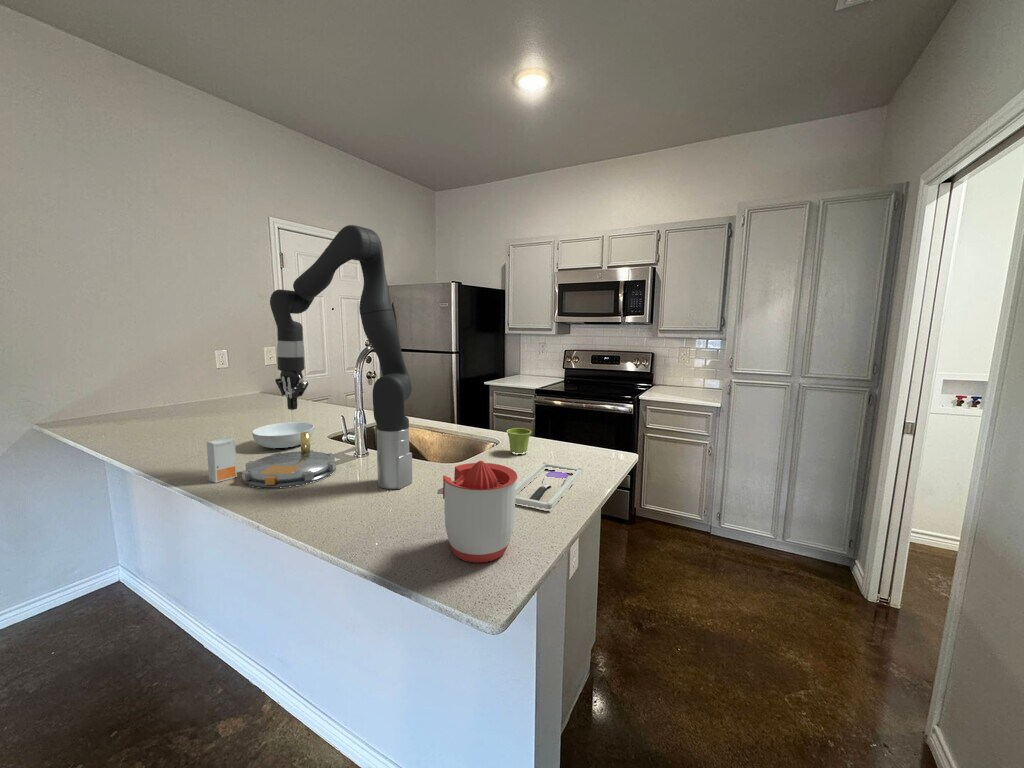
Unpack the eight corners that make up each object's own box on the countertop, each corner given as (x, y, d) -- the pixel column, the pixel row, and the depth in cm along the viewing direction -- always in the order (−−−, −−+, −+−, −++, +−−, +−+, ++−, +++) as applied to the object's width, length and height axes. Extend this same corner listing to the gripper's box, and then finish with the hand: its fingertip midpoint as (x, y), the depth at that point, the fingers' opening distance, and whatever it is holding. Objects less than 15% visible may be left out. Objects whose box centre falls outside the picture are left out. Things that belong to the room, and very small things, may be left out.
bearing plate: (353, 467, 140) (353, 464, 139) (282, 495, 116) (282, 491, 116) (298, 455, 150) (298, 452, 150) (223, 478, 127) (223, 475, 126)
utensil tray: (581, 474, 138) (582, 469, 138) (550, 512, 110) (550, 505, 109) (543, 468, 144) (543, 462, 143) (504, 502, 115) (504, 495, 115)
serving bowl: (268, 438, 171) (267, 421, 170) (322, 438, 173) (321, 421, 172) (241, 454, 150) (240, 435, 149) (303, 453, 153) (302, 435, 152)
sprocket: (348, 456, 147) (347, 431, 146) (317, 485, 120) (316, 454, 119) (270, 455, 145) (268, 430, 144) (221, 484, 119) (219, 453, 118)
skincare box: (215, 483, 123) (212, 444, 121) (208, 480, 125) (205, 441, 124) (238, 477, 128) (235, 439, 126) (231, 474, 130) (228, 437, 129)
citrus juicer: (454, 525, 101) (454, 445, 98) (523, 538, 96) (526, 454, 93) (422, 560, 86) (421, 466, 84) (502, 576, 81) (504, 478, 79)
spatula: (540, 509, 112) (540, 501, 112) (517, 504, 115) (517, 496, 115) (568, 480, 134) (569, 473, 133) (548, 477, 136) (549, 469, 136)
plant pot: (501, 453, 158) (501, 431, 157) (515, 448, 166) (515, 426, 165) (521, 458, 153) (522, 435, 152) (535, 452, 161) (536, 430, 160)
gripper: (315, 356, 132) (316, 410, 135) (287, 353, 138) (289, 404, 140) (294, 357, 125) (296, 414, 128) (265, 354, 131) (267, 408, 134)
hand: (292, 409), depth 134 cm, fingers closed
